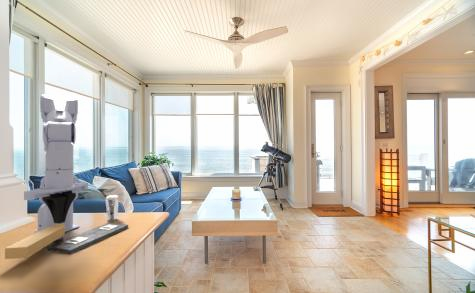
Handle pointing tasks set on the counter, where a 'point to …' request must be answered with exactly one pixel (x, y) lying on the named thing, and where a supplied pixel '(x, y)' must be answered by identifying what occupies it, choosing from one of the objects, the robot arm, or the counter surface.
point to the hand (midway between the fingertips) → (59, 222)
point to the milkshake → (112, 207)
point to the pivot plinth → (58, 240)
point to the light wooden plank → (34, 242)
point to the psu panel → (86, 238)
